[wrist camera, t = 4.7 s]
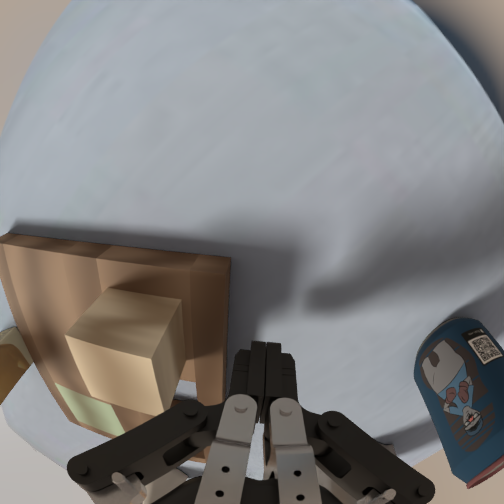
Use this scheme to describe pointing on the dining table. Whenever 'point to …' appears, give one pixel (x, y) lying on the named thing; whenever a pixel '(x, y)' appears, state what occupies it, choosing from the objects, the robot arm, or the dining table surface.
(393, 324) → the dining table surface
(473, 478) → the soda can
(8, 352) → the skincare box
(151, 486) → the flask
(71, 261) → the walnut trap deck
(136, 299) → the birch block
